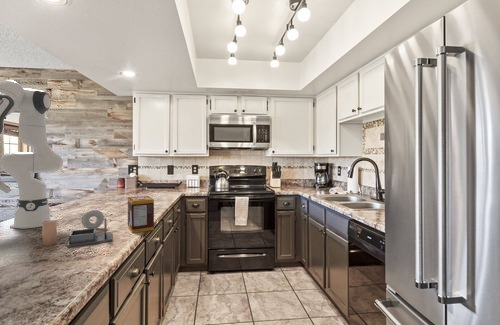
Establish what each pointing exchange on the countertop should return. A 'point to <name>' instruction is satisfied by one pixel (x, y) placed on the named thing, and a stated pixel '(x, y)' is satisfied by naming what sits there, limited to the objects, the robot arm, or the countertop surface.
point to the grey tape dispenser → (89, 236)
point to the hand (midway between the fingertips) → (8, 190)
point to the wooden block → (49, 232)
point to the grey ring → (90, 213)
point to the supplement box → (140, 213)
